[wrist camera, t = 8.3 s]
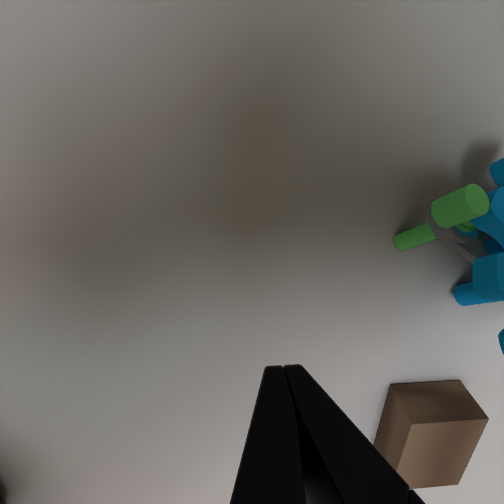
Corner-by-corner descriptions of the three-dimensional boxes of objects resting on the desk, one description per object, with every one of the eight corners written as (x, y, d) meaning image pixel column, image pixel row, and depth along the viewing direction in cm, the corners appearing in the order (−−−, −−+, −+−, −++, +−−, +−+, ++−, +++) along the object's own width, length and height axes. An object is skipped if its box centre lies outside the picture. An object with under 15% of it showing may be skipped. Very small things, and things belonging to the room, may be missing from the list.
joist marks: (372, 448, 23) (390, 490, 21) (572, -289, 10) (680, -390, 7) (434, 443, 24) (458, 484, 21) (712, -272, 10) (855, -363, 8)
